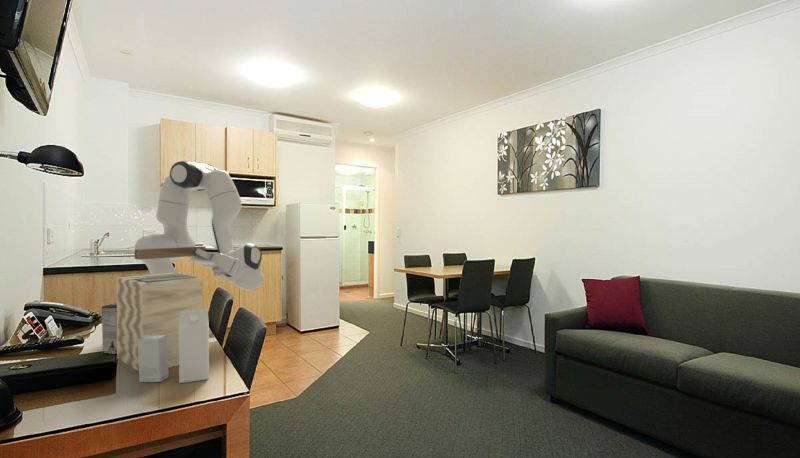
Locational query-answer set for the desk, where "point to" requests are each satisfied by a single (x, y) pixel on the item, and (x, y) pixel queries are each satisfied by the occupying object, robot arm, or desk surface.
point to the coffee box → (109, 327)
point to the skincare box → (153, 358)
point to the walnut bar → (166, 252)
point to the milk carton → (193, 345)
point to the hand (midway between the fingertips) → (192, 250)
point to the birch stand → (153, 311)
